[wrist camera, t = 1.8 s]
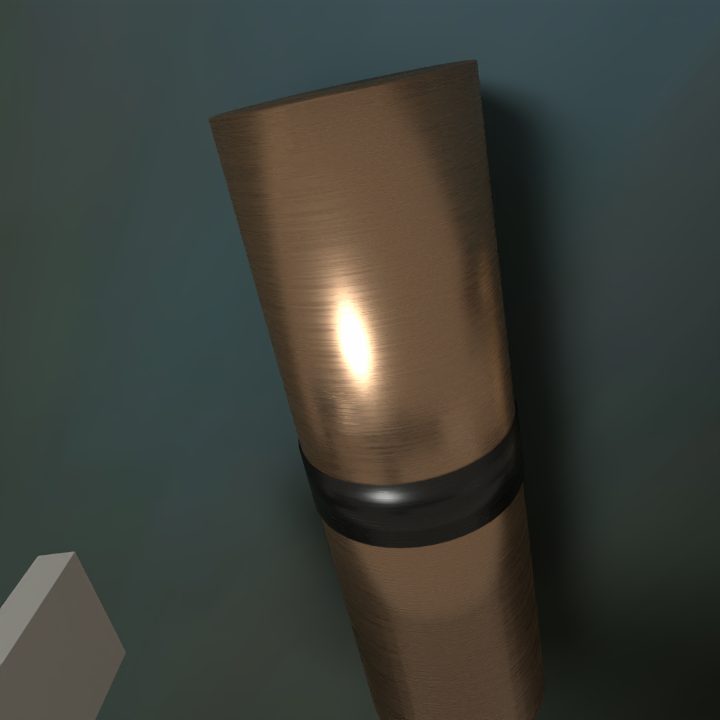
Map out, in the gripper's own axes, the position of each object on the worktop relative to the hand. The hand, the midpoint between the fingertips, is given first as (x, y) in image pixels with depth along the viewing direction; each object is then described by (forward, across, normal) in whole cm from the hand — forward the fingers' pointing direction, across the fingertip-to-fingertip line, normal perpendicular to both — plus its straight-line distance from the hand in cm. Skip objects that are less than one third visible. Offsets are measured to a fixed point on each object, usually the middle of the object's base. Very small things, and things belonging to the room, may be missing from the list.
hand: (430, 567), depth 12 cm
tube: (+7, -1, 0) cm, 7 cm away
